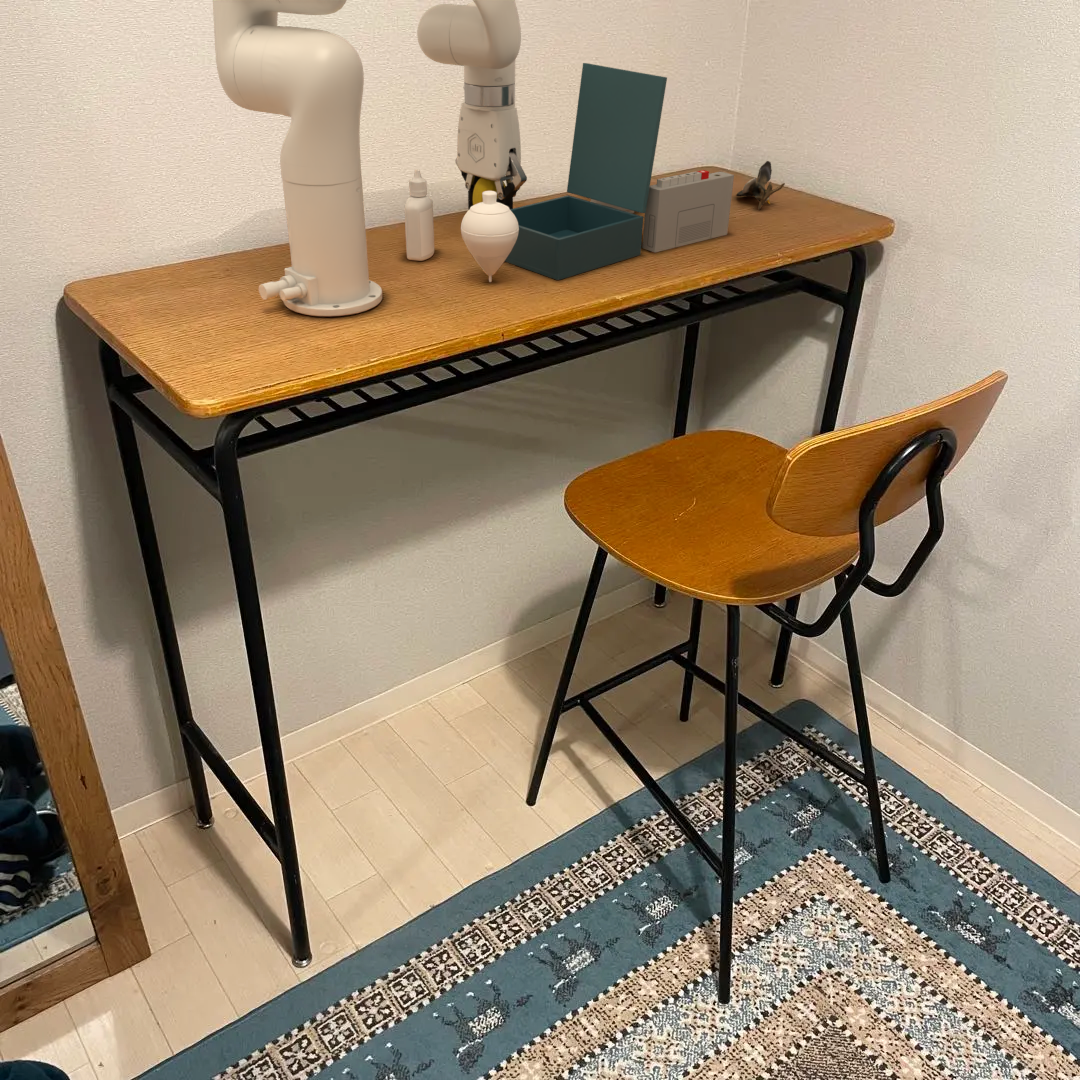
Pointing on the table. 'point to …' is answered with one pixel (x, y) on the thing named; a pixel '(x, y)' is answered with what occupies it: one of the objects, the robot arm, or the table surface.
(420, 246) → the eye dropper bottle
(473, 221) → the spinning top
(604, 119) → the lid
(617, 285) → the table surface
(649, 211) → the cassette player
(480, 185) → the lemon
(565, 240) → the chest
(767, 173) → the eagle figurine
